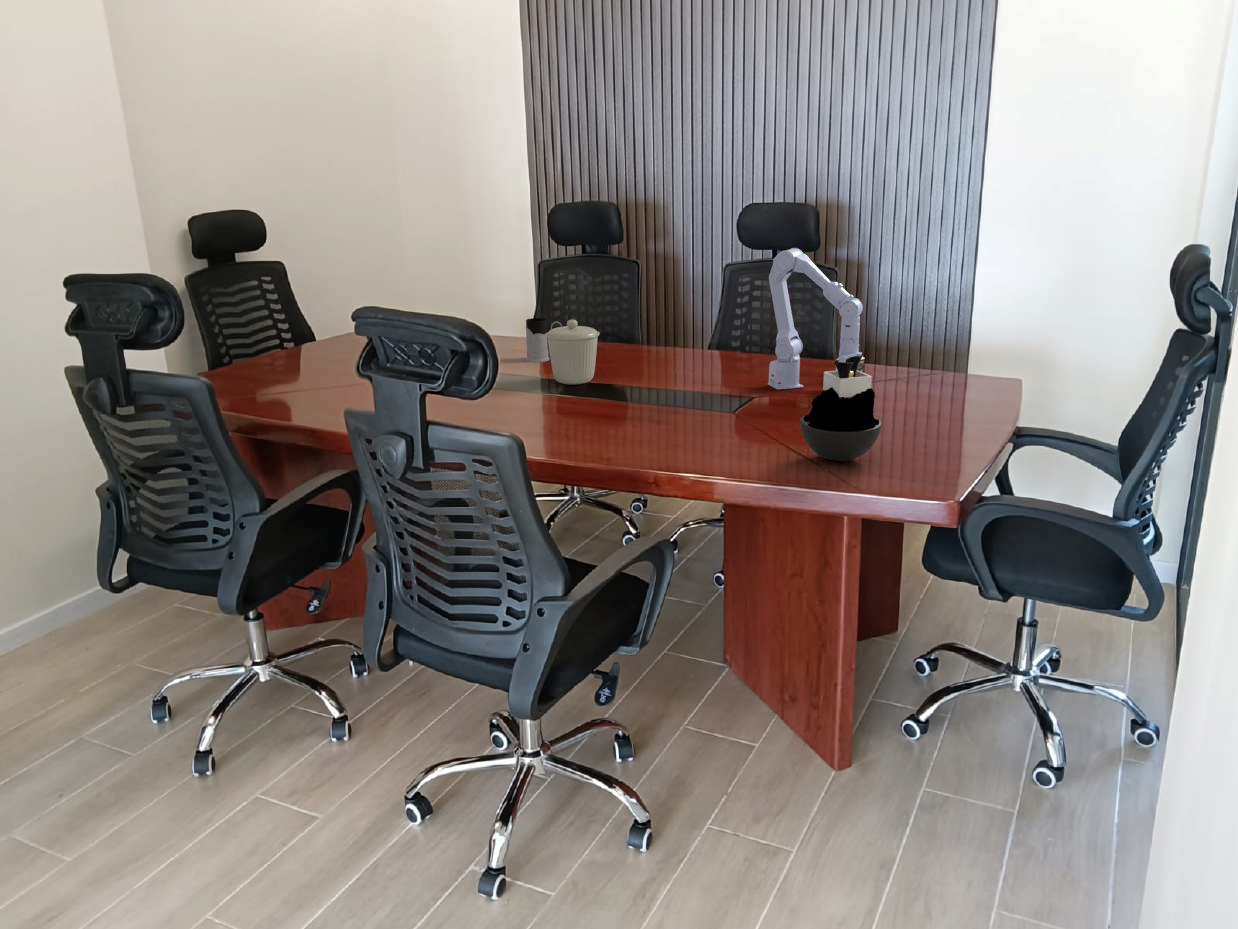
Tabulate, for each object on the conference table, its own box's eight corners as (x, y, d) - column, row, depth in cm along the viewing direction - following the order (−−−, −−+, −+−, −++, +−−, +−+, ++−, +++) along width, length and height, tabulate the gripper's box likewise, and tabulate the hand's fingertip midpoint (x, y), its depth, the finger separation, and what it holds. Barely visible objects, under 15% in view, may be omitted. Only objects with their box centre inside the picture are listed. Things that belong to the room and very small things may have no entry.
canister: (608, 384, 336) (607, 321, 330) (556, 389, 330) (554, 326, 324) (589, 373, 352) (588, 313, 346) (540, 378, 346) (538, 317, 340)
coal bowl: (785, 463, 253) (788, 390, 247) (817, 443, 268) (820, 374, 263) (861, 476, 242) (866, 400, 236) (890, 455, 258) (895, 383, 252)
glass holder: (523, 358, 379) (522, 318, 374) (560, 355, 383) (559, 316, 378) (528, 362, 371) (527, 322, 366) (566, 359, 375) (564, 319, 370)
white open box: (839, 397, 314) (840, 379, 313) (823, 389, 325) (823, 371, 323) (870, 395, 317) (871, 376, 315) (853, 387, 327) (854, 369, 325)
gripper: (855, 343, 308) (852, 386, 312) (868, 335, 320) (866, 376, 324) (832, 341, 311) (830, 384, 315) (847, 333, 323) (844, 374, 327)
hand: (847, 380), depth 320 cm, fingers open, 7 cm apart
